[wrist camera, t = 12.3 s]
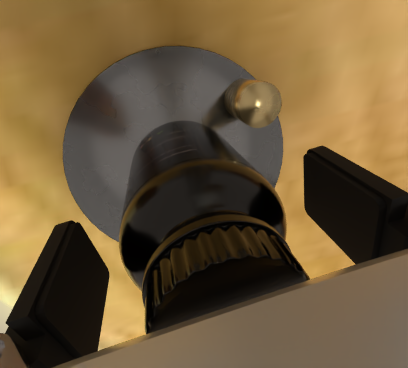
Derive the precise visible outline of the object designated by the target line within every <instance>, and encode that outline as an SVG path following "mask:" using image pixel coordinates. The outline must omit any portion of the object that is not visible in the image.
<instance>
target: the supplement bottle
mask: <svg viewBox="0 0 408 368" xmlns="http://www.w3.org/2000/svg"><path fill="white" fill-rule="evenodd" d="M285 240H286V215H285V211H284V207H283V204H282V202H281V199H280V197H279V196H278V194H277V192H276V191H275V189H274V188H273V187H272V185H271V184H270V183H269V182H268V181H267V180H266V179H265V177H264V176H263V175H261V174H260V173H259V172H258V171H257V170H256V169H255V168H254V167H253V166H252V165H251V164H250V163H249V162H248V161H247V160H246V159H245V158H244V157H242V156H241V155H240V154H239V153H238V152H237V151H236V150H235V149H234V148H233V147H232V146H231V145H230V144H229V143H228V142H227V141H226V140H225V139H224V138H222V137H221V136H220V135H219V134H218V133H217V132H215V131H214V130H213V129H211V128H209V127H208V126H206V125H203V124H201V123H198V122H194V121H184V120H181V121H173V122H169V123H166V124H163V125H161V126H159V127H157V128H155V129H154V130H152V131H151V132H150V133H148V134H147V135H146V136H145V137H144V138H143V140H142V141H141V142H140V144H139V145H138V147H137V149H136V151H135V153H134V156H133V159H132V163H131V168H130V174H129V179H128V185H127V190H126V196H125V202H124V207H123V213H122V219H121V225H120V234H119V249H120V255H121V259H122V263H123V265H124V268H125V270H126V272H127V273H128V275H129V277H130V278H131V280H132V281H133V282H134V284H135V285H136V286H137V287H138V288H139V289H140V290H141V291H142V297H143V303H144V307H145V331H146V334H149V333H152V332H155V331H158V330H161V329H164V328H167V327H170V326H172V325H175V324H178V323H181V322H184V321H187V320H190V319H193V318H196V317H199V316H202V315H205V314H208V313H211V312H214V311H217V310H220V309H223V308H226V307H229V306H232V305H235V304H238V303H241V302H244V301H247V300H250V299H253V298H256V297H259V296H262V295H265V294H268V293H271V292H274V291H277V290H280V289H283V288H286V287H289V286H292V285H295V284H298V283H301V282H304V281H307V280H310V278H309V276H308V275H307V273H306V272H305V271H304V269H303V268H302V266H301V265H300V263H299V262H298V261H297V259H296V258H295V257H294V256H293V254H292V253H291V250H290V248H289V246H288V245H287V243H286V242H285Z"/></svg>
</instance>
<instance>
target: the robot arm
mask: <svg viewBox="0 0 408 368" xmlns="http://www.w3.org/2000/svg"><path fill="white" fill-rule="evenodd" d="M304 206H305V210H306V212H307V214H308V215H309V216H310V217H311V218H312V219H313V220H314V221H315V222H316V223H317V225H318V226H319V227H320V228H321V229H322V230H323V231H324V232H325V233H326V234H327V235H328V236H329V237H330V238H331V239H332V240H333V241H334V242H335V243H336V244H337V245H338V246H339V247H340V248H341V249H342V250H343V251H344V253H345V254H346V255H347V256H348V257H349V258H350V259H351V260H352V261H353V262H354V263H355V264H356V265H353V266H350V267H347V268H344V269H341V270H338V271H335V272H332V273H329V274H326V275H323V276H320V277H317V278H314V279H311V280H307V281H304V282H301V283H298V284H295V285H292V286H289V287H286V288H283V289H280V290H277V291H274V292H271V293H268V294H265V295H262V296H259V297H256V298H253V299H250V300H247V301H244V302H241V303H238V304H235V305H232V306H229V307H226V308H223V309H220V310H217V311H214V312H211V313H208V314H205V315H202V316H199V317H196V318H193V319H190V320H187V321H184V322H181V323H178V324H175V325H172V326H170V327H167V328H164V329H161V330H158V331H155V332H152V333H149V334H146V335H143V336H140V337H137V338H134V339H131V340H128V341H125V342H122V343H119V344H117V345H114V346H111V347H108V348H105V349H102V350H99V351H98V345H99V338H100V332H101V326H102V320H103V313H104V307H105V301H106V295H107V288H108V282H109V271H108V268H107V266H106V265H105V263H104V262H103V260H102V258H101V257H100V255H99V253H98V252H97V250H96V248H95V247H94V245H93V244H92V242H91V240H90V239H89V237H88V235H87V234H86V232H85V230H84V229H83V227H82V226H81V224H80V223H78V222H77V223H75V222H74V221H72V220H71V221H68V222H64V223H61V224H58V225H56V226H55V227H54V229H53V231H52V233H51V235H50V237H49V239H48V241H47V243H46V245H45V247H44V248H43V250H42V252H41V254H40V256H39V258H38V260H37V262H36V264H35V266H34V268H33V270H32V272H31V274H30V276H29V278H28V280H27V282H26V284H25V286H24V288H23V290H22V292H21V294H20V296H19V298H18V300H17V301H16V303H15V305H14V307H13V309H12V312H11V313H10V315H9V317H8V319H7V321H6V324H7V325H8V326H9V327H8V329H7V331H6V333H5V334H3V333H0V368H408V193H407V192H405V191H404V190H402V189H400V188H398V187H397V186H395V185H393V184H391V183H389V182H388V181H386V180H384V179H382V178H380V177H379V176H377V175H375V174H373V173H371V172H370V171H368V170H366V169H364V168H362V167H361V166H359V165H357V164H355V163H353V162H352V161H350V160H348V159H346V158H344V157H343V156H341V155H339V154H337V153H335V152H334V151H332V150H330V149H328V148H327V147H325V146H319V147H316V148H313V149H309V150H308V151H307V154H305V155H304Z"/></svg>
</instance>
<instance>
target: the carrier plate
mask: <svg viewBox="0 0 408 368" xmlns="http://www.w3.org/2000/svg"><path fill="white" fill-rule="evenodd" d="M280 109H281V95H280V93H279V91H278V89H277V88H276V87H275V86H274V85H272V84H270V83H267V82H262V81H257V80H256V79H255V78H254V77H253V76H252V75H250V74H249V73H248V72H247V71H246V70H245V69H243V68H242V67H241V66H239V65H238V64H236V63H234V62H233V61H231V60H230V59H228V58H225V57H223V56H221V55H219V54H216V53H214V52H210V51H207V50H203V49H199V48H192V47H184V46H169V47H159V48H153V49H148V50H144V51H141V52H138V53H135V54H133V55H130V56H128V57H126V58H124V59H122V60H120V61H118V62H116V63H114V64H113V65H111V66H110V67H109V68H107V69H106V70H105V71H103V72H102V73H101V74H99V75H98V76H97V77H96V78H95V79H94V80H93V81H92V82H91V83H90V84H89V85H88V87H87V88H86V89H85V91H84V92H83V93H82V95H81V96H80V98H79V99H78V101H77V102H76V104H75V106H74V108H73V110H72V112H71V114H70V117H69V120H68V123H67V126H66V129H65V136H64V142H63V164H64V171H65V176H66V179H67V183H68V186H69V189H70V191H71V193H72V195H73V197H74V199H75V201H76V203H77V204H78V206H79V207H80V209H81V210H82V212H83V213H84V214H85V216H86V217H87V218H88V219H89V220H90V221H91V222H92V223H93V224H94V225H95V226H96V227H97V228H98V229H99V230H101V231H102V232H103V233H105V234H106V235H108V236H109V237H111V238H112V239H114V240H116V241H118V242H119V234H120V225H121V219H122V213H123V207H124V202H125V196H126V190H127V185H128V179H129V174H130V168H131V163H132V159H133V156H134V153H135V151H136V149H137V147H138V145H139V144H140V142H141V141H142V140H143V138H144V137H145V136H146V135H147V134H148V133H150V132H151V131H152V130H154V129H155V128H157V127H159V126H161V125H163V124H166V123H169V122H173V121H181V120H184V121H194V122H198V123H201V124H203V125H206V126H208V127H209V128H211V129H213V130H214V131H215V132H217V133H218V134H219V135H220V136H221V137H222V138H224V139H225V140H226V141H227V142H228V143H229V144H230V145H231V146H232V147H233V148H234V149H235V150H236V151H237V152H238V153H239V154H240V155H241V156H242V157H244V158H245V159H246V160H247V161H248V162H249V163H250V164H251V165H252V166H253V167H254V168H255V169H256V170H257V171H258V172H259V173H260V174H261V175H263V176H264V177H265V179H266V180H267V181H268V182H269V183H270V184H271V185H272V187H273V188H275V185H276V183H277V180H278V177H279V174H280V169H281V165H282V157H283V137H282V131H281V125H280V122H279V118H278V114H279V112H280Z"/></svg>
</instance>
